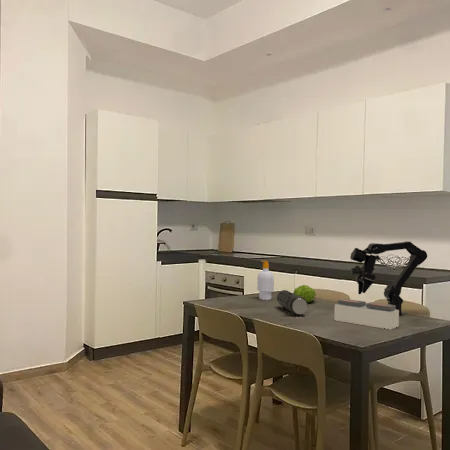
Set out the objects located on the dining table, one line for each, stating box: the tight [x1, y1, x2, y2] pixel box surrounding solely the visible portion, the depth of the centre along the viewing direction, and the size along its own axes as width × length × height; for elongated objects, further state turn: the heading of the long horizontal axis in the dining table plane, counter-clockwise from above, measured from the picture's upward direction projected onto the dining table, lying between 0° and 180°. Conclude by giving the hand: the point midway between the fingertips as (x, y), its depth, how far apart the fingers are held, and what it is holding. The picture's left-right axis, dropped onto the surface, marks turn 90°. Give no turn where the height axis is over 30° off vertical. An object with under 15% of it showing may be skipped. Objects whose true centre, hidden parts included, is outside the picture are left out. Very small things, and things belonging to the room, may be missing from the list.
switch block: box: [333, 303, 400, 331], centre depth 232 cm, size 9×29×8 cm, turn 47°
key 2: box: [366, 301, 396, 311], centre depth 227 cm, size 6×12×2 cm, turn 47°
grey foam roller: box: [276, 289, 308, 316], centre depth 260 cm, size 10×28×10 cm, turn 10°
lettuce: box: [292, 284, 317, 303], centre depth 297 cm, size 12×24×13 cm
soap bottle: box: [256, 260, 275, 301], centre depth 301 cm, size 10×10×24 cm
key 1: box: [337, 298, 367, 307], centre depth 237 cm, size 6×12×2 cm, turn 48°
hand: (361, 293), depth 253 cm, fingers open, 9 cm apart
